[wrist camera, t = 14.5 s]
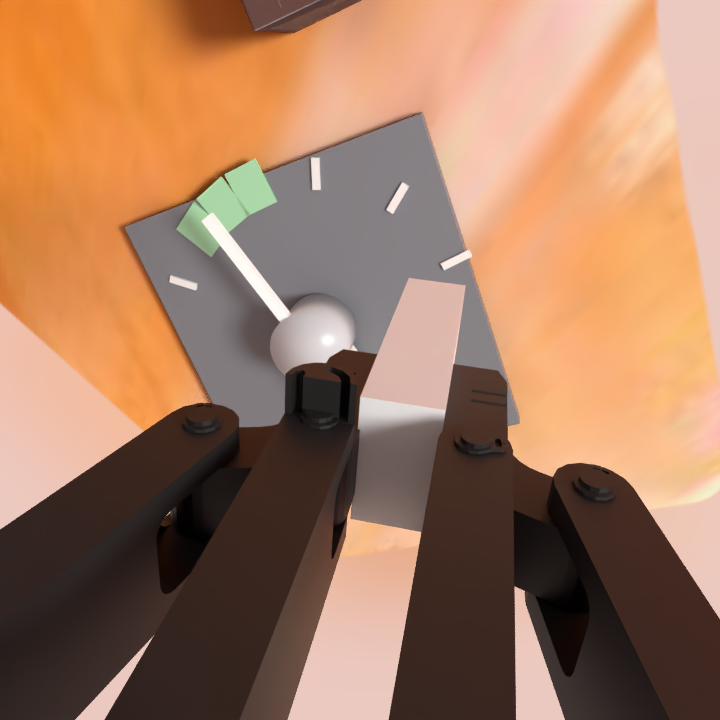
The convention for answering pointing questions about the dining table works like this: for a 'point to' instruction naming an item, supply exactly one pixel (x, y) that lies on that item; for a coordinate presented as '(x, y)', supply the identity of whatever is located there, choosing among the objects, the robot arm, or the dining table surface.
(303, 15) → the box
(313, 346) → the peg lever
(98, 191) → the dining table surface
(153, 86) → the dining table surface
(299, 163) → the dial board
